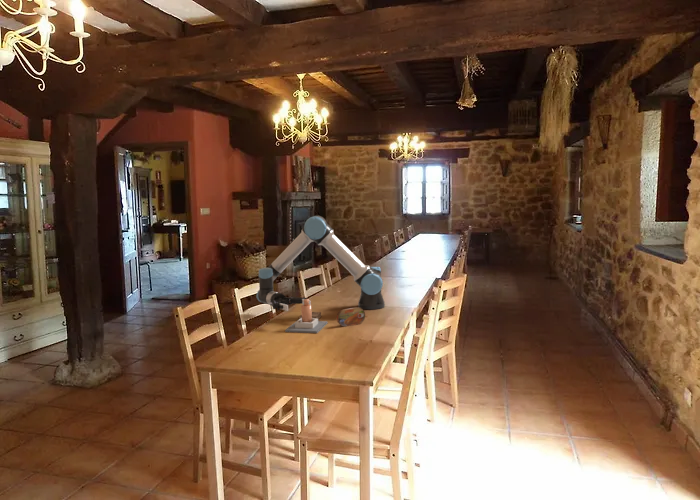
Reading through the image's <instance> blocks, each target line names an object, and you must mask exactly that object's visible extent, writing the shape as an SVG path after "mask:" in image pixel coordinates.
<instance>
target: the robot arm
mask: <svg viewBox="0 0 700 500" xmlns="http://www.w3.org/2000/svg"><path fill="white" fill-rule="evenodd" d="M312 242H314V243H316V244H317V246H322V247H323V248H324V249H326V250H327V251H328V252H329V254H331V256H333V257H334V259H336V260H337V262H339V263H340V264H341V265H342V266H343V267H344V269H346V270H347V271H348V272H349V273H350V274H351V276H353V281H354V283H356V284H357V285H358V286H359V287H360V294H359V295H360V297H359V300H358V303H357V304H358V305H357V306H358V308H362V309H363V310H379V309H383V308H385V307H386V306H385V305H386V304H385V300H384V299H385V298H384V297H383V295H382V289H383V284H384V281H383V279H382V269H381V267H380V266H370V265H368V264H367V265H366V264H365V263H364V262H362V260H360V259H359V257H357V256H356V254H355V253H353V252H352V251H351V249H349V248H348V246H347V245H345V243H343V242H342V241H341V240H340V238H338V236H336V235H335V233H334V229H333V228H332V226H331V225H330V224H328V222H327V220H326V219H325V218H324V217H323V216H321V215H313V216H310V217H309V218H307V219H306V221H305V222H304V227H303V228H301V232H300V233H299V235H297V237H295V239H294V240H293V241H291V243H290V244H289V245H288V246H287V247H285V249H284V250H283V251H282V252H281V253H280V254H279V256H277V257H276V259H274V260H273V261H272V263H270V264H269V266H267V267H262V268H259V269H258V283H259V290H258V291H257V292H256V296H255V297H256V299H257V301H258V302H260V303H261V304H265V305H269V306H271V307H272V309H273V310H277V311H280V310H283V311H285V312H288V311H289V305H292V304H298V305H299V304H301V305H304V299H308V298H307V297H305V296H303V297H300V296H299V297H297V296H290V297H289V296H288V297H287V296H285V294H284V293H281V292H278V291H274V281H275V280H276V279H277V277H279V276H280V275H281V273H283V272H284V270H286V268H288V266H289V265H290V264H292V262H293V261H294V260H295V259H297V258H298V256H299V255H300V254H301V253H302V252H303V251H304V250H305V249H306V248H307V247H308V246H309V245H310V244H311V243H312ZM311 302H312V301H311V300H310V299H309V305H312V303H311Z"/></svg>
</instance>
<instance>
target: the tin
mask: <svg viewBox="0 0 700 500" xmlns="http://www.w3.org/2000/svg"><path fill="white" fill-rule="evenodd" d="M365 319H366V312H365V309H362V308H359V307H350V308H344V309H341V310H339V311H338V313H337V315H336V321H337V324H338V325H340V326H342V327H345V328H346V327H349V326H350V327H351V326H354V325H355V326H357V325H361V324H362V323H363V322H364V321H365Z"/></svg>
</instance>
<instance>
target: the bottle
mask: <svg viewBox="0 0 700 500" xmlns="http://www.w3.org/2000/svg"><path fill="white" fill-rule="evenodd" d="M309 300H310V299H308V298H307V299H304V305H303V304H301V305H300V306H301V309H300V311H301V314H302V322H308V323H311V322H312V312H313V311H312V304H311V305H309Z"/></svg>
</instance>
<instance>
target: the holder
mask: <svg viewBox="0 0 700 500" xmlns="http://www.w3.org/2000/svg"><path fill="white" fill-rule="evenodd" d="M327 324H328V321H327V320H324V321H323V320H319V319H316V318H312V322H311V323H308V322H302V318H300V317H299V319H298V320H296V321H295V322H293V323H292V324H290V325H289V326H288V327H287V328H286V329H285V331H284V332H285V333H298V334H299V333H300V334H301V333H303V334H318V333H319V332H321V330H322V329H324V327H325V326H326V325H327Z"/></svg>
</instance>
